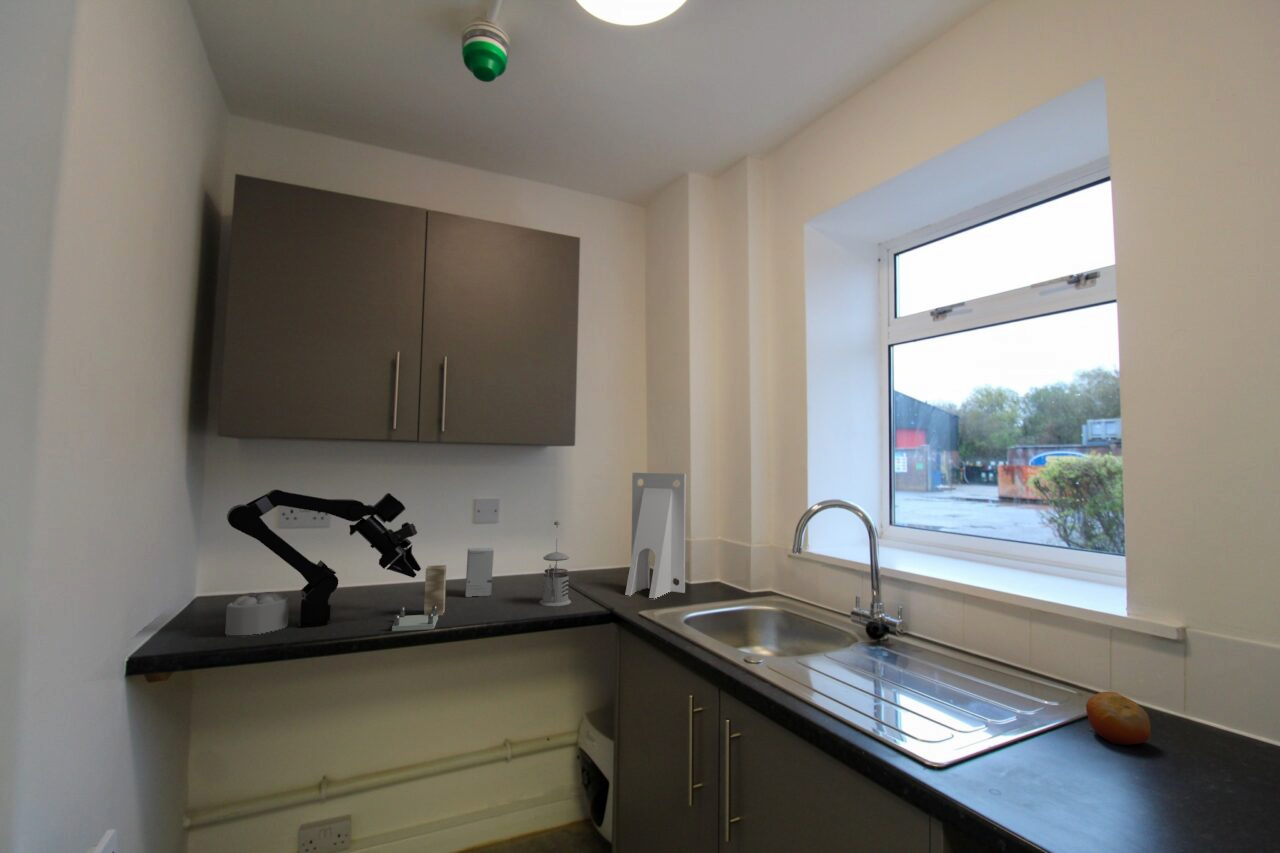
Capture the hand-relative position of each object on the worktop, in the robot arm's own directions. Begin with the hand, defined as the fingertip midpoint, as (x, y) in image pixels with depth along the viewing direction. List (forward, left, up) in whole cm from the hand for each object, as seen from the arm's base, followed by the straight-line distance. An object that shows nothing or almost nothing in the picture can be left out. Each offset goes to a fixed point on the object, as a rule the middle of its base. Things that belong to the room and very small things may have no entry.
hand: (417, 573), depth 164 cm
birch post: (+5, -1, -11) cm, 12 cm away
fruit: (+93, -126, -12) cm, 157 cm away
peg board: (-1, -11, -11) cm, 16 cm away
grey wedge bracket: (+73, -3, -12) cm, 74 cm away
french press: (+40, -3, -12) cm, 42 cm away
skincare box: (+21, +17, -12) cm, 29 cm away
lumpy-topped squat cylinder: (-38, +1, -12) cm, 40 cm away
